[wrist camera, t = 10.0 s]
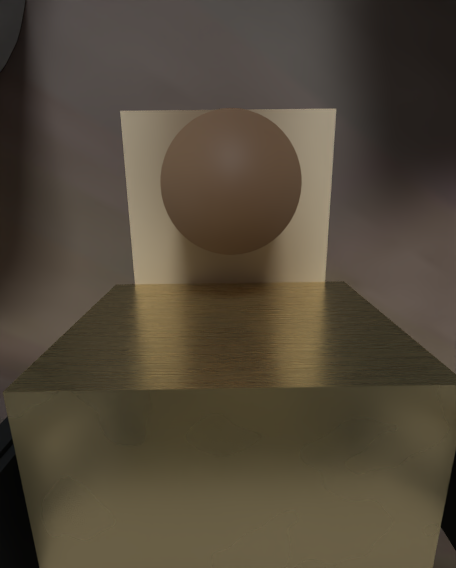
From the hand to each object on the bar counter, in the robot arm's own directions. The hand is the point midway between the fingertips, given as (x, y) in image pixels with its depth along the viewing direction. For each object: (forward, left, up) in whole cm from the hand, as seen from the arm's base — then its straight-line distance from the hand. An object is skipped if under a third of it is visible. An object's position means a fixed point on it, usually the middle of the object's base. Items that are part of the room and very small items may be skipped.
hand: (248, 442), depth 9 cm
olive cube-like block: (0, 0, -3) cm, 3 cm away
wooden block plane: (0, -3, -8) cm, 9 cm away
